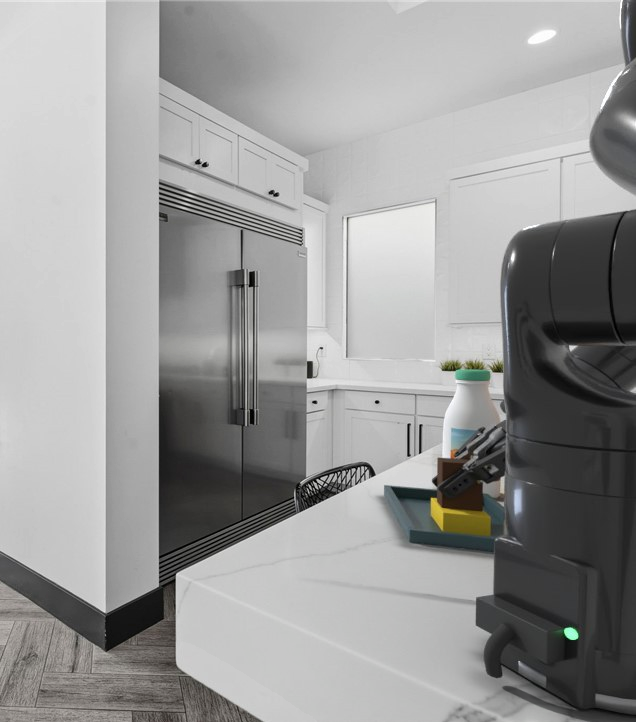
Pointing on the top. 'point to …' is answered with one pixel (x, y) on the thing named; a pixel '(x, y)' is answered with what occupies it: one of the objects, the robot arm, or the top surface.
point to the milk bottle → (470, 416)
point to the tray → (423, 529)
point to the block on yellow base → (459, 504)
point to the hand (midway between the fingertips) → (440, 490)
